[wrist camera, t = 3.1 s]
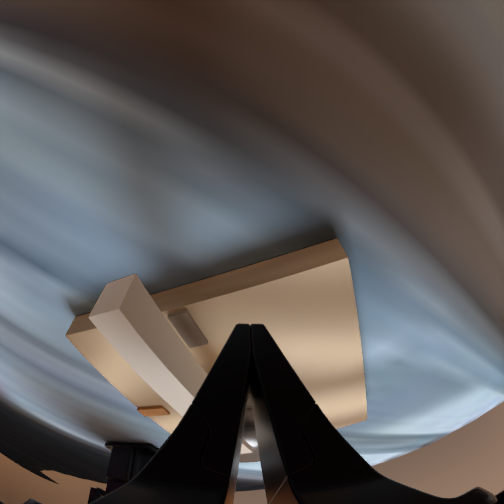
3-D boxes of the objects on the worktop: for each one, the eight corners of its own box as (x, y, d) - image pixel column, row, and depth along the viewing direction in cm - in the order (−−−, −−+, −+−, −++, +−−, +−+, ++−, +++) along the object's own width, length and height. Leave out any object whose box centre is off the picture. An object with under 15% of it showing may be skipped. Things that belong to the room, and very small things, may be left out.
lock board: (362, 403, 19) (367, 421, 18) (195, 435, 21) (194, 452, 20) (337, 238, 12) (349, 260, 10) (75, 316, 14) (63, 338, 12)
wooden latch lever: (294, 411, 16) (300, 459, 13) (218, 424, 17) (217, 469, 14) (199, 227, 10) (181, 290, 7) (87, 269, 10) (50, 327, 7)
